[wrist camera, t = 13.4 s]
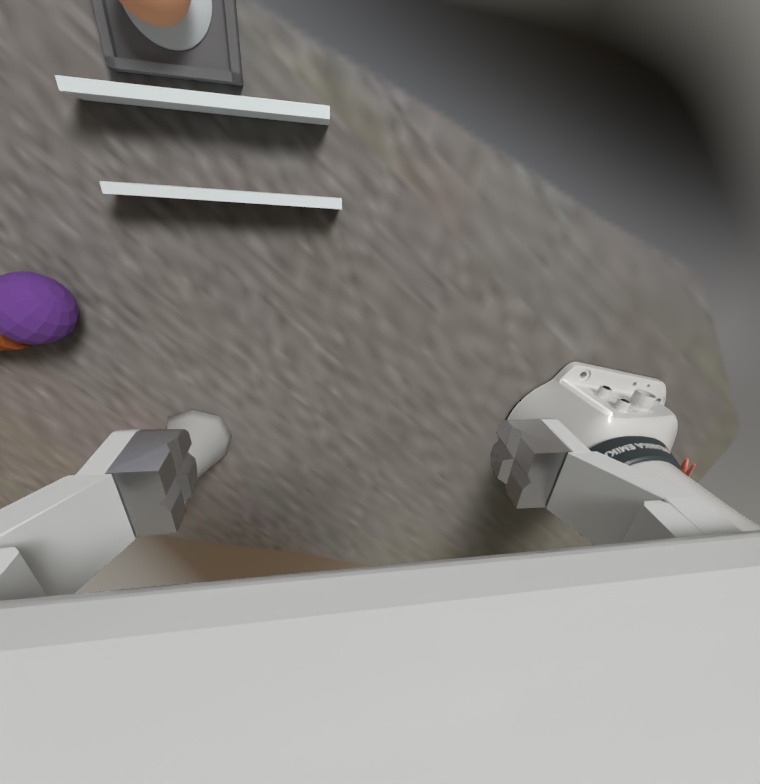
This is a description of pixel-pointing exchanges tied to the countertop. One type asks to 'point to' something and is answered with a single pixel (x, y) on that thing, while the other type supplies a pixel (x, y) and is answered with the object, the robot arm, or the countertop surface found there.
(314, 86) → the countertop surface
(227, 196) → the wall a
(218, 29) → the gray square tray
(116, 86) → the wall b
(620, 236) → the countertop surface
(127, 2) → the ball
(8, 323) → the purple and orange maraca
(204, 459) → the flask
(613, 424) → the robot arm
